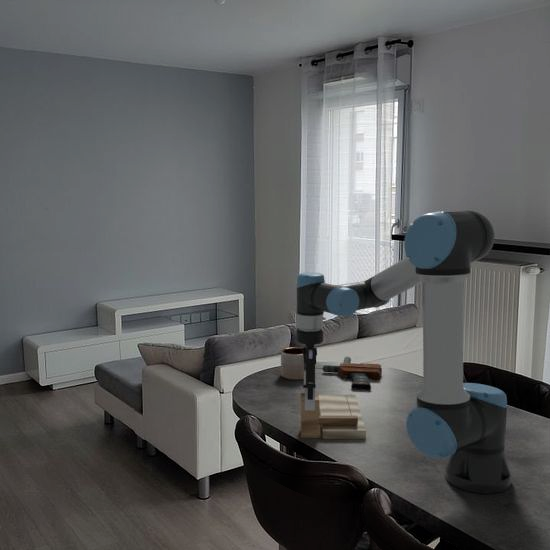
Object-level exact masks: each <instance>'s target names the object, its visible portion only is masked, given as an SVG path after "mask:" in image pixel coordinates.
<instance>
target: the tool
mask: <svg viewBox="0 0 550 550" xmlns="http://www.w3.org/2000/svg"><path fill="white" fill-rule="evenodd" d="M351 361H352V358H351V357H350V356H344V359H343V361H342V362H340V364H339V365H329V364H326V365H325V364H324V365H323V366H322V367H320V368H319V367H317V369H321V370H322V371H323V372H324V373H336V374H338V375H339V376H340V378H341V379H343V380H346V379H347V380H352V381H353V382H352V383H351V385H350V386H351V387H350V388H351V390H361V389H365V391H372V385H371V381H378V380H379V381H380V379H381V376H382V372H383V371H382V369H383V368H382V365H381V364H380V363H366V362H365V363H352V362H351ZM344 378H345V379H344ZM370 379H372V380H370Z"/></svg>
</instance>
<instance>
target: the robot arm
mask: <svg viewBox="0 0 550 550" xmlns="http://www.w3.org/2000/svg"><path fill="white" fill-rule="evenodd" d="M495 236H496V235H495V230H494V226H493V225H492V223H491V221H490V220H489V219H488V218H487V217H486V216H485V215H484V214H482V213H480V212H478V211H475V210H457V211H456V210H455V211H452V210H451V211H435V212H434V211H433V212H429V213H424V214H421V215H420V216H418V217H417V218H415V219H414V221H412V223H410V225H409V226H408V228H407V229H406V232H405V236H404V240H403V242H404V243H403V244H404V252H405V255H406V257H405V258H403V259H401V260H399V261H398V262H395V263H394V264H393V265H390V266H389V267H387V268H385V269H383V270H381V271H380V272H378V273H376V274H374V275H373V276H371V277H369V278H367V279H366V280H364V281H357V282H350V283H343V284H329V283H326V280H325V275H324V274H323V273H321V272H308V271H307V272H302V273H299V274H298V275H297V278H296V279H297V280H296V287H295V288H296V317H295V319H296V320H295V321H296V327H297V329H296V334H295V336H296V338H295V339H296V342H297V343H299V344H300V345H304V346H303V347H302V348H303V358H304V370H306V371H304V379H303V384H302V388H303V393H305V410H315V393H316V385H317V384H316V365H317V356H318V349H317V346H315V345H319V344H322V343H323V342H324V329H323V328H324V321H325V320H326V318H327V317H326V316H324V313H328V314H332V315H333V316H337V317H346V318H347V317H350V316H352V315H353V314H354V313H356V312H357V311H360V310H366V309H367V310H368V309H372V308H373V309H375V308H379V307H382V306H386V305H388V303H389V302H390V300H391V299H392V298H394V297H396V296H398V295H400V294H403V293H405V292H407V291H408V290H411V289H412V288H414V287H416V286H418V285H420V284H421V283H422V335H423V336H422V350H423V351H422V352H423V353H422V355H423V356H422V360H423V363H422V365H423V366H422V367H423V369H422V371H423V373H422V374H423V375H422V376H423V381H422V382H423V386H422V388H420V389H419V390H418V391H417V392H416V408H413V409H412V410H411V411H410V413H409V414H408V415H407V418H406V421H405V422H406V423H405V424H406V427H405V428H406V433H407V435H408V437H409V440H410V441H411V443H412V444H413V445H414V446H415V449H417V451H419V453H421V454H422V455H424V456H425V457H429V458H431V459H435V460H436V459H442V458H445V457H446V458H447V457H448V459H447V462H446V464H445V471H444V473H445V474H444V477H445V479H446V481H448V482H449V483H450V485H452V486H454V487H456V488H458V489H461V490H463V491H467V492H471V493H475V494H484V495H485V494H488V495H489V494H497V493H502V492H504V491H507V490H508V489H509V488H510V487H511V484H512V472H511V469H510V465H509V463H508V459H507V456H506V452H505V451H506V449H505V448H506V445H505V444H506V433H507V432H506V429H507V411H508V401H507V399H508V398H507V394H506V393H505V392H504V391H503V390H501V389H499V388H497V387H494V386H491V385H487V384H481V383H477V382H475V383H474V382H464V281H465V280H466V279H467V278H469V276H470V275H471V263H474V262H477V261H479V260H481V259H483V258H485V257H486V256H487V255H488V254H489V253H490V251H492V248H493V246H494V242H495Z"/></svg>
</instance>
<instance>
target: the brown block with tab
mask: <svg viewBox="0 0 550 550" xmlns="http://www.w3.org/2000/svg"><path fill="white" fill-rule="evenodd" d="M319 395H320V394H319V393H318V392H315V410H305V393H304V392H301V393H300V438H301V439H302V438H303V439H304V438H305V439H307V438H309V439H310V438H311V439H314V438H316V439H319V438H320V426H321V425H358V417H357V416H320V413H319Z"/></svg>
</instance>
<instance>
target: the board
mask: <svg viewBox="0 0 550 550" xmlns="http://www.w3.org/2000/svg"><path fill="white" fill-rule="evenodd" d="M357 399H358V398H357V397H356V394H319V415H320V416H357V417H358V425H320V427H321V434H322V439H323V440H366V439H367V429H366V426H365V423H364V420H363V416H362V413H361V409H360V406H359V403H358V400H357Z"/></svg>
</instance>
